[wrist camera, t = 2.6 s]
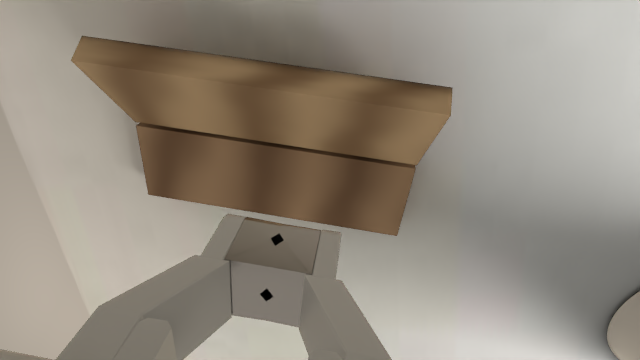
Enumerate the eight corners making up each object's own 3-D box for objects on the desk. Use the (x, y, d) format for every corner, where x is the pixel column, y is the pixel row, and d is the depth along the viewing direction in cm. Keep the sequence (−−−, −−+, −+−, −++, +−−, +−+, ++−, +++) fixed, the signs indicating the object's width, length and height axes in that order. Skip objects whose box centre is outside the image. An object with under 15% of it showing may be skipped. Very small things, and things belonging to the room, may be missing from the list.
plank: (452, 87, 19) (450, 115, 18) (418, 143, 25) (416, 165, 25) (82, 35, 20) (70, 60, 19) (142, 102, 27) (135, 121, 26)
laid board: (413, 158, 26) (415, 169, 25) (396, 223, 29) (396, 235, 28) (148, 117, 28) (136, 125, 26) (158, 184, 31) (148, 194, 29)
